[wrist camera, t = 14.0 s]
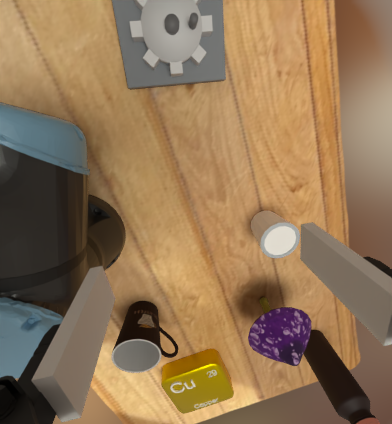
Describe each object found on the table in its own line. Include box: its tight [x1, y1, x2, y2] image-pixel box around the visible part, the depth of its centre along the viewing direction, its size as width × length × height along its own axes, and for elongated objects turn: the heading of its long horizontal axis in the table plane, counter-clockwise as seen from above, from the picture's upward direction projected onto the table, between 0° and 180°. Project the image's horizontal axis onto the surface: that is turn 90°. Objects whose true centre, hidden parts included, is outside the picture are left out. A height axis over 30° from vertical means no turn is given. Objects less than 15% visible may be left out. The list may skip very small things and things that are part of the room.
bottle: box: [303, 330, 380, 424], centre depth 49 cm, size 7×7×20 cm
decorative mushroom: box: [248, 297, 311, 366], centre depth 44 cm, size 12×12×15 cm
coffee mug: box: [112, 301, 178, 373], centre depth 45 cm, size 12×9×10 cm
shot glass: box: [251, 210, 300, 258], centre depth 41 cm, size 7×7×7 cm
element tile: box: [162, 349, 234, 413], centre depth 57 cm, size 15×15×5 cm
